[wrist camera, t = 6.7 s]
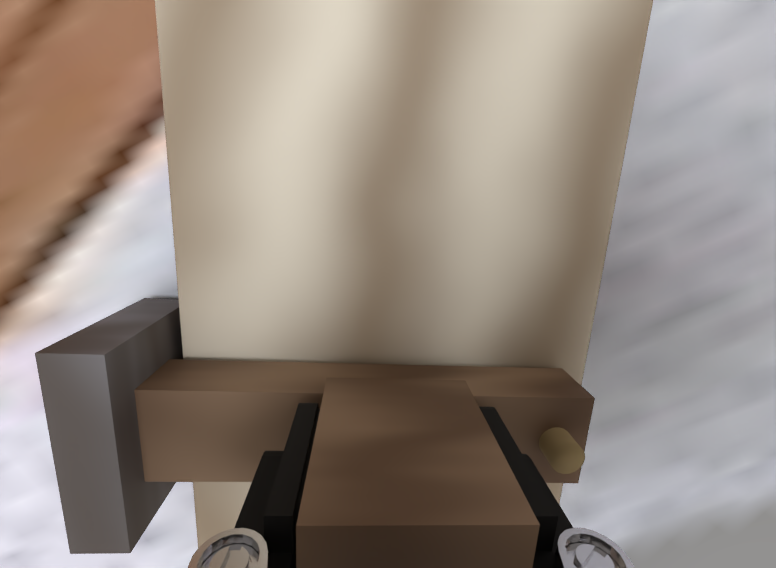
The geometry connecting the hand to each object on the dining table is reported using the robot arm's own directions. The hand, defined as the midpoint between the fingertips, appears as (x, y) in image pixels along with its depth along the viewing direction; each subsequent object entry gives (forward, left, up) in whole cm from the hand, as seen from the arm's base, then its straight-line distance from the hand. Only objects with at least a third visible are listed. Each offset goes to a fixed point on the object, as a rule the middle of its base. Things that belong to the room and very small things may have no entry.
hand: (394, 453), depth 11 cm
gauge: (+1, 0, -4) cm, 5 cm away
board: (0, -5, -5) cm, 7 cm away
